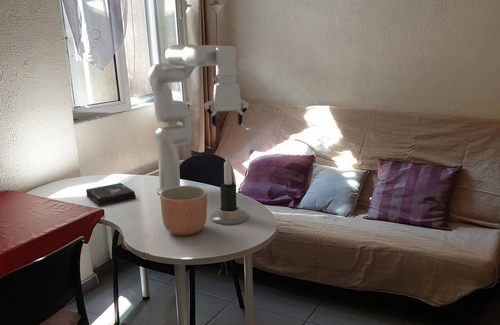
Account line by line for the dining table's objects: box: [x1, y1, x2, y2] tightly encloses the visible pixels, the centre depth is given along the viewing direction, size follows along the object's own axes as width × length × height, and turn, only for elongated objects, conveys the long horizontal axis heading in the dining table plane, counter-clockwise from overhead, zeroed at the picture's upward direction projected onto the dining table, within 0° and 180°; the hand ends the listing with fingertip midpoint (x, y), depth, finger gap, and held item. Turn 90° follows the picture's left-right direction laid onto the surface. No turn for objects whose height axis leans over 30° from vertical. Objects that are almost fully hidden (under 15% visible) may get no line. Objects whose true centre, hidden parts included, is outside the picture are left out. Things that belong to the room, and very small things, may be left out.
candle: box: [219, 154, 237, 212], centre depth 176 cm, size 5×5×25 cm
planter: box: [159, 185, 208, 237], centre depth 165 cm, size 17×17×15 cm
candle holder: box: [210, 204, 249, 226], centre depth 179 cm, size 15×15×4 cm
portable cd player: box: [85, 182, 137, 207], centre depth 204 cm, size 16×17×4 cm
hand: (227, 125), depth 170 cm, fingers open, 9 cm apart
